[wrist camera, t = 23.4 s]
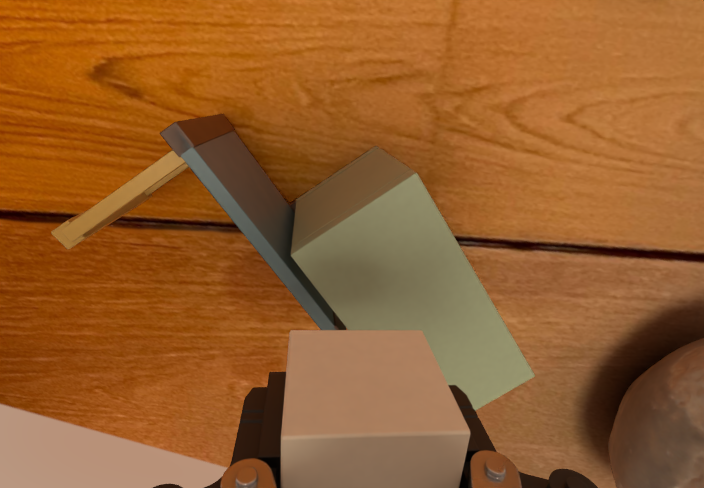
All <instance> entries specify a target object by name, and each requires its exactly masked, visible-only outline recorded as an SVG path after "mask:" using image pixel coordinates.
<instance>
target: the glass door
mask: <svg viewBox="0 0 704 488" xmlns="http://www.w3.org/2000/svg"><path fill="white" fill-rule="evenodd" d="M234 130H235V129H234V128H233V127H232V125H231V124H230V122H229V121H228V120H227V118H226V117H225V116H224V114H219V115H213V116H207V117H202V118H196V119H190V120H184V121H178V122H174V123H173V124H172V125H170V126H169V127H167V128H166V129H165V130H163V131H162V132H160V135H161V136H162V137H163V138H164V139H165V141H166V142H167V143H168V144H169V146H170V147H171V148H172V149H173V150H172V151H170V152H169V153H168V154H166V155H165V156H163V157H162V158H161V159H159V160H158V161H156V162H155V163H154V164H152V165H151V166H149V167H148V168H147V169H145V170H144V171H142V172H141V173H140V174H138V175H137V176H135V177H134V178H133V179H131V180H130V181H128V182H127V183H126V184H124V185H123V186H121V187H120V188H119V189H117V190H116V191H114V192H113V193H112V194H110V195H109V196H107V197H106V198H105V199H103V200H102V201H100V202H99V203H97V204H96V205H95V206H93V207H92V208H90V209H89V210H87V211H85V212H83V213H81V214H79V215H77V216H75V217H73V218H71V219H69V220H67V221H66V222H64V223H63V224H61V225H60V226H59V227H57V228H56V229H54V230H53V231H52V232H51V233H52V235H53V236H54V237H55V238H57V239H58V240H59V241H60V242H61V243H62V244H63V245H64V246H65V247H66V248H67V249H71V248H72V247H74V246H75V245H77V244H79V243H80V242H82V241H83V240H85V239H87V238H88V237H90V236H91V235H93V234H94V233H96V232H98V231H99V230H101V229H102V228H104V227H106V226H107V225H109V224H110V223H112V222H114V221H115V220H117V219H118V218H120V217H121V216H123V215H125V214H126V213H128V212H129V211H131V210H133V209H134V208H136V207H137V206H139V205H141V204H142V203H143V202H145V201H146V200H148V199H149V198H151V197H152V194H151V193H153V192H154V191H156V190H157V189H158V188H160V187H161V186H163V185H164V184H165V183H167V182H168V181H170V180H171V179H173V178H174V177H175V176H177V175H178V174H180V173H181V172H183V171H184V170H185V169H187V168H188V167H190V168H191V170H192V171H193V172H194V173H195V175H196V176H197V177H198V178H199V179H200V181H201V182H202V183H203V184H204V186H205V187H206V188H207V189H208V191H209V192H210V193H211V194H212V196H213V197H214V198H215V199H216V201H217V202H218V203H219V204H220V205H221V207H222V208H223V209H224V210H225V212H226V213H227V214H228V215H229V217H230V218H231V219H232V220H233V222H234V223H235V224H236V225H237V226H238V228H239V229H240V230H241V231H242V233H243V234H244V235H245V236H246V238H247V239H248V240H249V241H250V243H251V244H252V245H253V246H254V247H255V249H256V250H257V251H258V252H259V254H260V255H261V256H262V257H263V259H264V260H265V261H266V262H267V264H268V265H269V266H270V267H271V268H272V270H273V271H274V272H275V273H276V275H277V276H278V277H279V278H280V280H281V281H282V282H283V283H284V285H285V286H286V287H287V288H288V289H289V291H290V292H291V293H292V294H293V296H294V297H295V298H296V299H297V301H298V302H299V303H300V304H301V306H302V307H303V308H304V309H305V311H306V312H307V313H308V314H309V315H310V317H311V318H312V319H313V320H314V322H315V323H316V324H317V325H318V327H319V328H320V329H321V330H346V326H345V325H344V324H343V322H342V321H341V320H340V319H339V317H338V316H337V315H336V313H335V312H334V311H333V310H332V308H331V307H330V306H329V304H328V303H327V302H326V301H325V299H324V298H323V297H322V295H321V294H320V293H319V292H318V290H317V289H316V288H315V286H314V285H313V284H312V283H311V281H310V280H309V279H308V277H307V276H306V275H305V274H304V272H303V271H302V270H301V268H300V267H299V266H298V265H297V263H296V262H295V261H294V259H293V258H292V257H291V246H292V237H293V227H294V218H295V213H294V211H293V210H292V209H291V207H290V206H289V205H288V203H287V202H286V201H285V199H284V198H283V197H282V195H281V194H280V193H279V191H278V190H277V188H276V187H275V186H274V184H273V183H272V182H271V180H270V179H269V178H268V176H267V175H266V174H265V172H264V171H263V169H262V168H261V167H260V165H259V164H258V163H257V161H256V160H255V159H254V157H253V156H252V155H251V153H250V152H249V150H248V149H247V148H246V146H245V145H244V144H243V142H242V141H241V140H240V138H239V137H238V136H237V134H236V133H235V131H234Z"/></svg>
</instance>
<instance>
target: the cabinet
mask: <svg viewBox="0 0 704 488" xmlns="http://www.w3.org/2000/svg"><path fill="white" fill-rule="evenodd" d="M288 205H289V206H290V207H291V209H292V210H293V211H294V213H295V218H294V227H293V237H292V246H291V257H292V258H293V259H294V261H295V262H296V263H297V265H298V266H299V267H300V268H301V270H302V271H303V272H304V274H305V275H306V276H307V277H308V279H309V280H310V281H311V283H312V284H313V285H314V286H315V288H316V289H317V290H318V292H319V293H320V294H321V295H322V297H323V298H324V299H325V301H326V302H327V303H328V304H329V306H330V307H331V308H332V310H333V311H334V312H335V313H336V315H337V316H338V317H339V319H340V320H341V321H342V322H343V324H344V325H345V326H346V328H347V329H348V330H421V331H422V332H423V334H424V336H425V338H426V340H427V342H428V344H429V346H430V348H431V350H432V352H433V355H434V357H435V359H436V361H437V363H438V365H439V367H440V369H441V371H442V373H443V375H444V377H445V380H446V382H447V384H448V385H456V386H458V387H459V388H460V389H461V390H462V391H463V392H464V393H465V394H466V395H467V396H468V398H469V400H470V402H471V404H472V406H473V409H474V410H477V409H479V408H481V407H482V406H484V405H486V404H488V403H489V402H491V401H493V400H495V399H496V398H498V397H500V396H501V395H503V394H505V393H507V392H508V391H510V390H512V389H514V388H515V387H517V386H519V385H521V384H522V383H524V382H526V381H528V380H529V379H531V378H533V377H535V374H534V373H533V371H532V369H531V368H530V366H529V364H528V362H527V361H526V359H525V357H524V356H523V354H522V352H521V350H520V349H519V347H518V345H517V344H516V342H515V340H514V338H513V337H512V335H511V333H510V332H509V330H508V328H507V326H506V325H505V323H504V321H503V320H502V318H501V316H500V314H499V313H498V311H497V309H496V308H495V306H494V304H493V302H492V301H491V299H490V297H489V296H488V294H487V292H486V290H485V289H484V287H483V285H482V284H481V282H480V280H479V278H478V277H477V275H476V273H475V272H474V270H473V268H472V266H471V265H470V263H469V261H468V260H467V258H466V256H465V254H464V253H463V251H462V249H461V248H460V246H459V244H458V242H457V241H456V239H455V237H454V236H453V234H452V232H451V230H450V229H449V227H448V225H447V223H446V222H445V220H444V218H443V217H442V215H441V213H440V211H439V210H438V208H437V206H436V205H435V203H434V201H433V199H432V198H431V196H430V194H429V193H428V191H427V189H426V187H425V186H424V184H423V182H422V181H421V179H420V177H419V175H418V174H417V173H416V172H415V171H413V170H412V169H410V168H409V167H407V166H406V165H404V164H403V163H401V162H400V161H398V160H397V159H395V158H394V157H392V156H391V155H389V154H388V153H386V152H385V151H383V150H382V149H380V148H379V147H378V146H375V147H373V148H372V149H370V150H369V151H367V152H366V153H364V154H363V155H361V156H360V157H358V158H357V159H355V160H354V161H352V162H351V163H349V164H348V165H346V166H345V167H343V168H342V169H340V170H339V171H337V172H336V173H334V174H333V175H332V176H330V177H329V178H327V179H326V180H324V181H323V182H321V183H320V184H318V185H317V186H315V187H314V188H312V189H311V190H309V191H308V192H306V193H305V194H303V195H302V196H300V197H299V198H297V199H296V200H294V201H293V202H291V203H290V204H288Z"/></svg>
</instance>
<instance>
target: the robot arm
mask: <svg viewBox="0 0 704 488" xmlns="http://www.w3.org/2000/svg"><path fill="white" fill-rule="evenodd" d="M285 381H286V372H270V373H269V379H268V386H267V387H258V388H253V389H252V390H251V391H250V392H249V394H248V395H247V396H246V398H245V400H244V405H243V410H242V414H241V419H240V424H239V428H238V433H237V438H236V443H235V447H234V452H233V457H232V461H231V465H230V467H229V468H228V469H227V470H226V471H225V473H224V474H223V476H222V477H221V478H220V479H219V480H218V481H216V482H215V483H213V484H212V485H210V486H207V487H205V488H281V430H282V418H283V406H284V394H285ZM448 386H449V388H450V390H451V392H452V394H453V396H454V398H455V400H456V402H457V405H458V407H459V409H460V411H461V413H462V415H463V417H464V419H465V421H466V423H467V425H468V427H469V429H470V438H469V443H468V448H467V452H466V457H465V462H464V467H463V471H462V476H461V481H460V485H459V488H598V487H597V486H596V485H595V484H594V483H593V482H591V481H590V480H589V479H588V478H586V477H585V476H583V475H582V474H580V473H578V472H575V471H572V470H569V469H557V470H555V471H553V472H552V473H551V474H550V477H549V480H547V479H543V478H539V477H535V476H531V475H527V474H524V473H521V472H519V471H518V470H517V468H516V467H515V465H514V464H513V463H512V462H511V461H510V460H509V459H508V458H506V457H505V456H503V455H502V454H500V453H497V452H496V450H495V448H494V446H493V444H492V442H491V440H490V438H489V436H488V435H487V433H486V431H485V429H484V427H483V425H482V423H481V421H480V419H479V418H478V416H477V414H476V412H475V410H474V409H473V406H472V404H471V402H470V400H469V398H468V396H467V395H466V394H465V393H464V392H463V391H462V390H461V389H460V388H459V387H458V386H456V385H448ZM153 488H182V487H180V486H179V485H175V484H163V485H159V486H156V487H153Z"/></svg>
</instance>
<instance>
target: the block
mask: <svg viewBox="0 0 704 488" xmlns="http://www.w3.org/2000/svg"><path fill="white" fill-rule="evenodd" d="M469 438H470V429H469V427H468V425H467V423H466V421H465V419H464V417H463V415H462V413H461V411H460V409H459V407H458V405H457V402H456V400H455V398H454V396H453V394H452V392H451V390H450V388H449V386H448V384H447V382H446V380H445V377H444V375H443V373H442V371H441V369H440V367H439V365H438V363H437V361H436V359H435V357H434V355H433V352H432V350H431V348H430V346H429V344H428V342H427V340H426V338H425V336H424V334H423V332H422V331H421V330H291V331H290V333H289V345H288V357H287V369H286V381H285V394H284V406H283V418H282V430H281V488H459V485H460V481H461V476H462V471H463V467H464V462H465V457H466V452H467V448H468V443H469Z"/></svg>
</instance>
